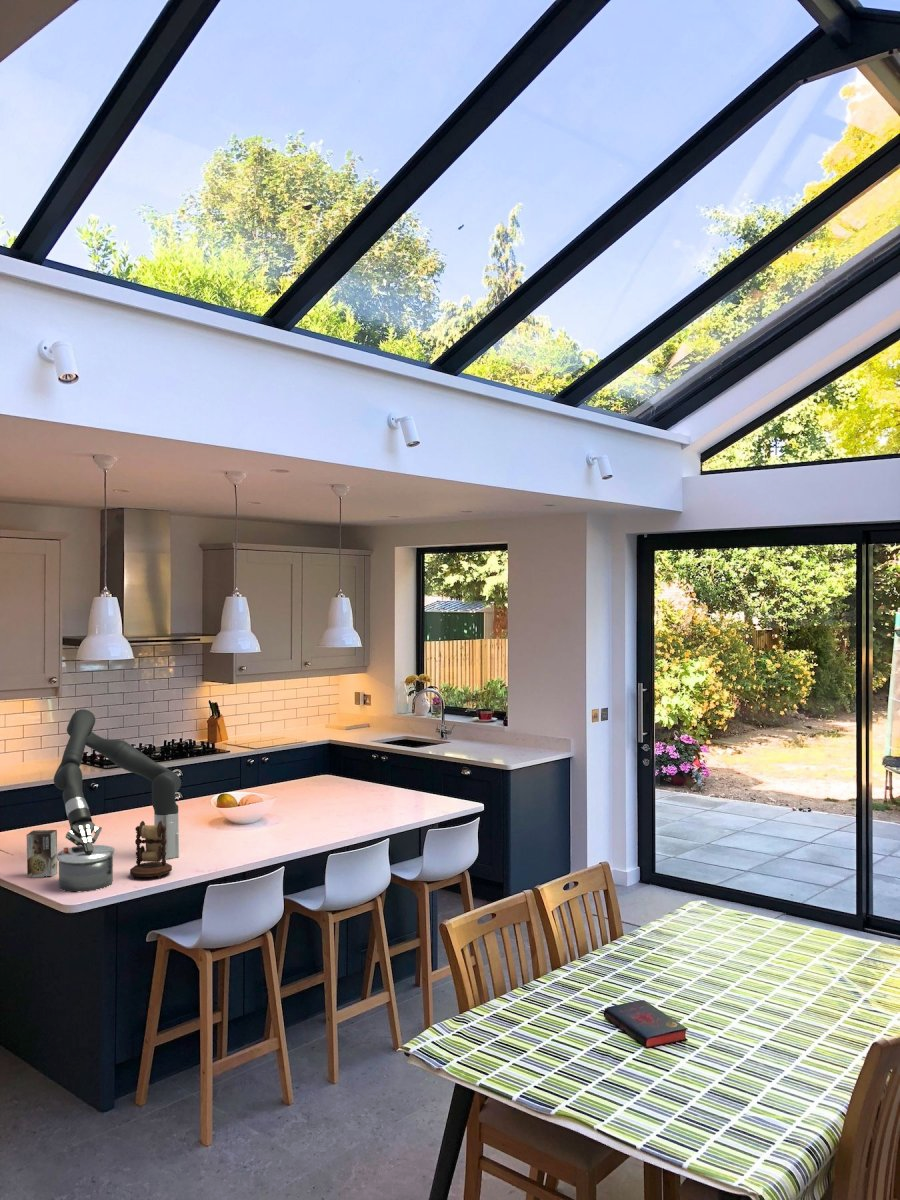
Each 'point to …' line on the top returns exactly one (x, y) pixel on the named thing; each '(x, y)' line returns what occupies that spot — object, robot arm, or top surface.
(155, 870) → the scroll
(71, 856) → the lid
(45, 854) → the coffee box
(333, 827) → the top surface
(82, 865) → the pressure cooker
